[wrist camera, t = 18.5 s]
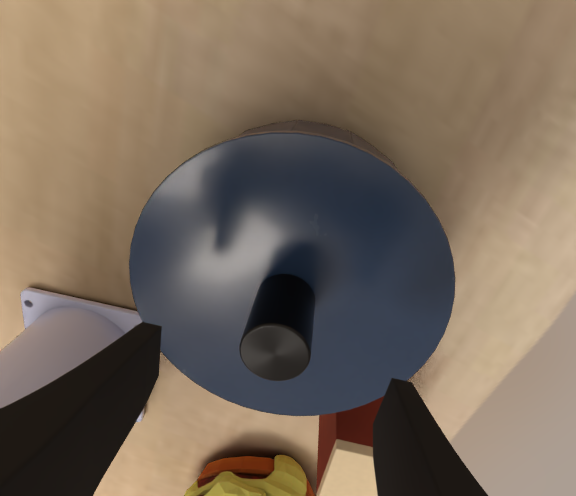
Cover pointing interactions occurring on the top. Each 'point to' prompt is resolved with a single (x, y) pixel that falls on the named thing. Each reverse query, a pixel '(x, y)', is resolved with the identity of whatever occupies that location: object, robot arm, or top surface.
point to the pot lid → (292, 273)
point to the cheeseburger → (252, 478)
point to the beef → (347, 452)
